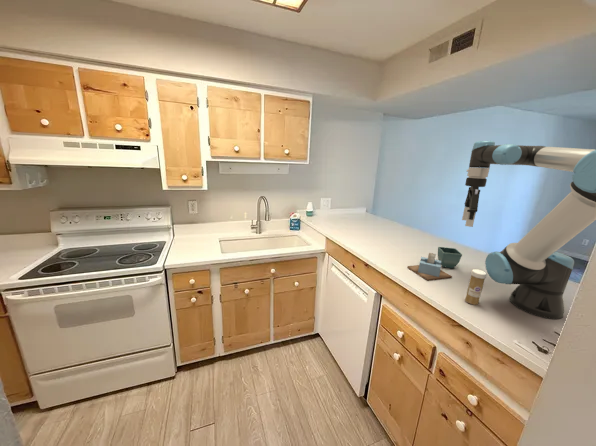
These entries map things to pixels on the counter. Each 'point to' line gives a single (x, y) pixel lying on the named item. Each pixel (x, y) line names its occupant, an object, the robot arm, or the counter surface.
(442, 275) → the post base
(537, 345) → the counter surface
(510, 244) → the robot arm
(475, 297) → the sprinkles bottle
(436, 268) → the blue notched block
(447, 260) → the flower pot
